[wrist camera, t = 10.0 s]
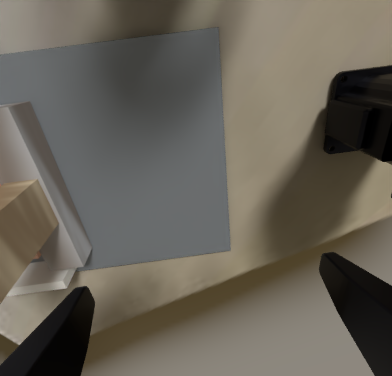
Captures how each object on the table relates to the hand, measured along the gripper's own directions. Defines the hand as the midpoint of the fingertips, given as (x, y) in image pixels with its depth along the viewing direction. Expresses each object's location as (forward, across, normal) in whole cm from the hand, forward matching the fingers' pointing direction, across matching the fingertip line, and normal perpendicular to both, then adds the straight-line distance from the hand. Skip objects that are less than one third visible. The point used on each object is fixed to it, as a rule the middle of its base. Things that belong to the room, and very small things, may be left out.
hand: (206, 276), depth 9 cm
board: (+13, +9, +1) cm, 16 cm away
